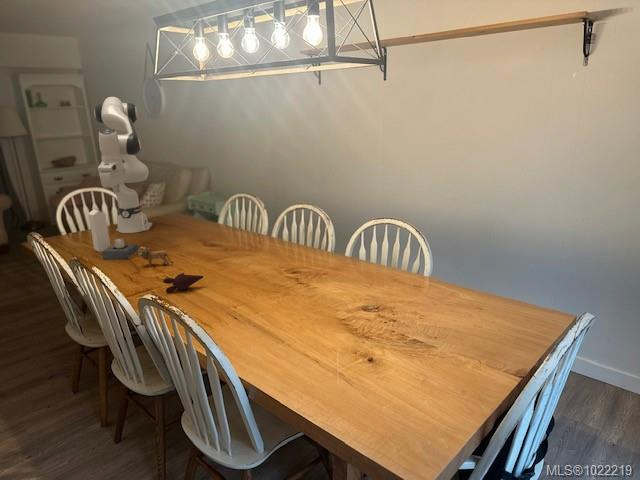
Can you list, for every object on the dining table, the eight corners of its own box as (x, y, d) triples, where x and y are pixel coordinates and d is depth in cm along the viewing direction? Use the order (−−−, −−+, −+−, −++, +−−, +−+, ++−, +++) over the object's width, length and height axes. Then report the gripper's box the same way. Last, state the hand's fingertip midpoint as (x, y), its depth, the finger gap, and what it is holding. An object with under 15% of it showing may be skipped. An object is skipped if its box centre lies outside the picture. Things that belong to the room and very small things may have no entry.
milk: (99, 252, 227) (91, 209, 221) (94, 249, 231) (86, 207, 225) (111, 249, 232) (104, 206, 225) (106, 246, 236) (99, 205, 229)
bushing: (119, 254, 224) (116, 238, 221) (127, 253, 224) (124, 238, 221) (115, 256, 220) (112, 240, 217) (123, 256, 220) (121, 240, 217)
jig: (114, 251, 227) (113, 244, 226) (140, 251, 227) (139, 243, 226) (103, 259, 216) (102, 251, 215) (130, 259, 216) (128, 250, 215)
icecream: (200, 267, 183) (161, 276, 178) (202, 268, 176) (162, 278, 171) (203, 284, 184) (165, 294, 178) (206, 285, 177) (167, 296, 171)
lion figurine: (138, 268, 203) (136, 248, 201) (141, 264, 208) (138, 245, 206) (173, 265, 205) (170, 246, 203) (174, 261, 210) (172, 243, 208)
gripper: (115, 161, 226) (119, 188, 231) (95, 168, 207) (100, 198, 211) (128, 161, 226) (132, 188, 231) (109, 168, 207) (114, 198, 211)
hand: (117, 193), depth 221 cm, fingers closed
